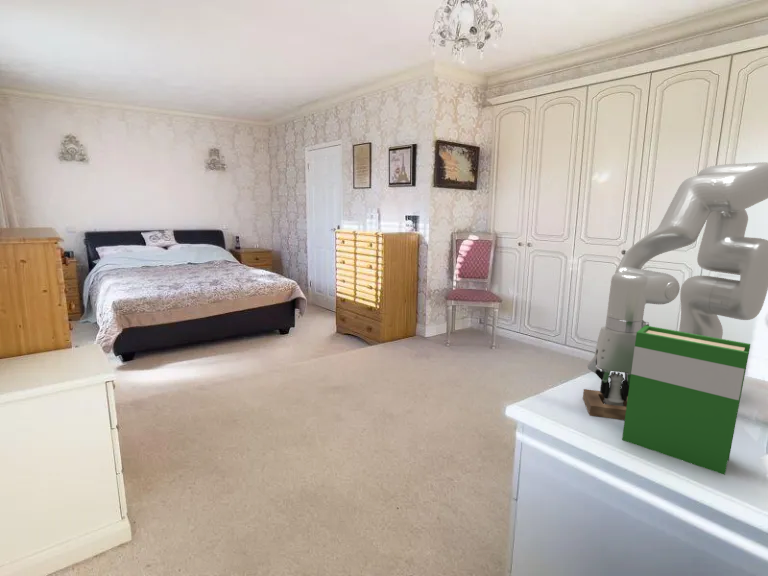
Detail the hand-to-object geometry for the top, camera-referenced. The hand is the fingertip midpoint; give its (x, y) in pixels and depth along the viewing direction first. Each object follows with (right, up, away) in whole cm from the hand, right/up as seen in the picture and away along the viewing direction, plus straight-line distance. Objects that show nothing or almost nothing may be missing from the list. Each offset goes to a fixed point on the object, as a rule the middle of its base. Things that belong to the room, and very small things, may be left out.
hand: (614, 396), depth 108 cm
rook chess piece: (0, -2, 0) cm, 2 cm away
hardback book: (+4, -7, -16) cm, 18 cm away
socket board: (+2, -3, 0) cm, 4 cm away
